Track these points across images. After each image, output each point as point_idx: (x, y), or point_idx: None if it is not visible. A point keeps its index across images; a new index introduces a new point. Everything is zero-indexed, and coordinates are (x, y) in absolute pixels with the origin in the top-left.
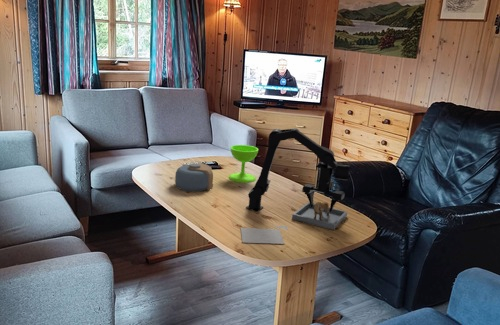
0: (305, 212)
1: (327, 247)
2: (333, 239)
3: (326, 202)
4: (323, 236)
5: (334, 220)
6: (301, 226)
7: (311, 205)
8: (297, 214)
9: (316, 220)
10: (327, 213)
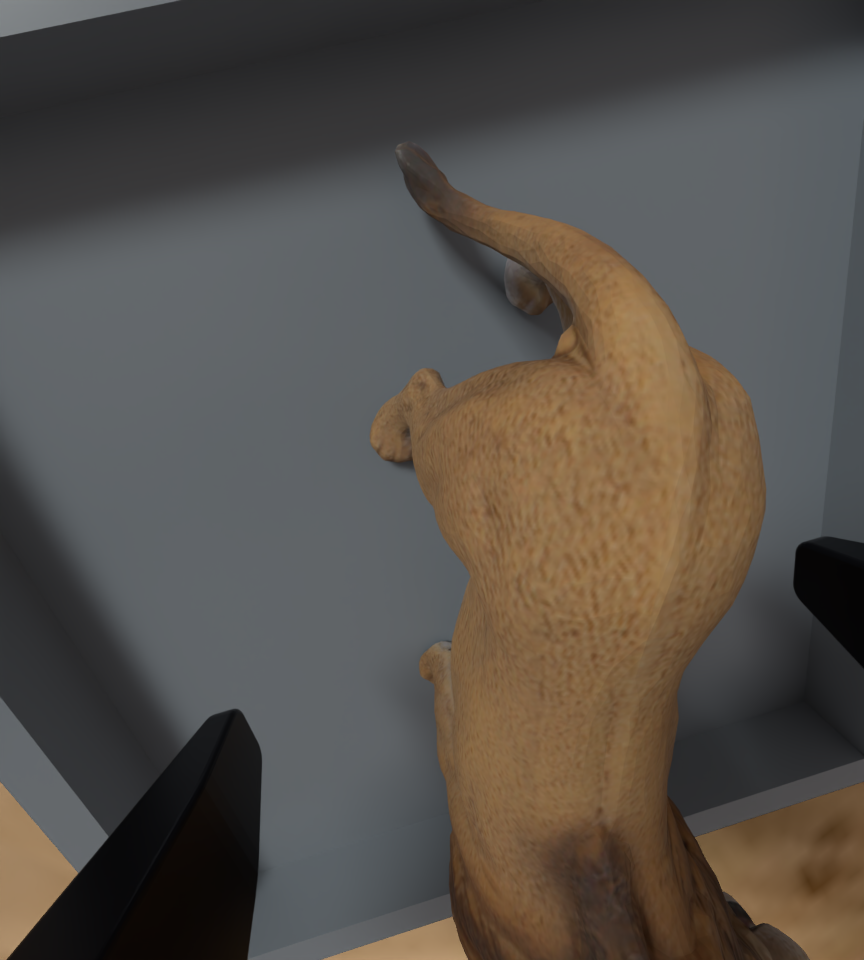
0: (115, 590)
1: (846, 955)
2: (861, 843)
3: (725, 513)
4: (759, 874)
5: None
6: None
7: (249, 834)
8: None
9: None
10: (537, 296)
